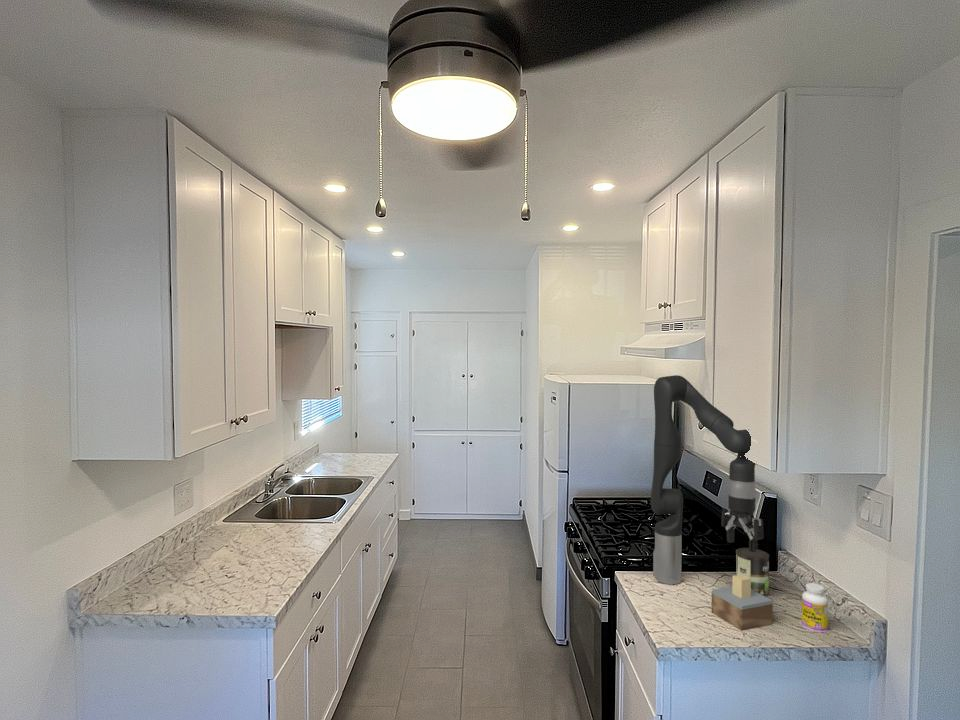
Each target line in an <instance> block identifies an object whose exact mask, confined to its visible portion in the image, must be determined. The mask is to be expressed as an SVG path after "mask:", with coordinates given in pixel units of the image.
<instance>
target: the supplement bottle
mask: <svg viewBox="0 0 960 720" xmlns="http://www.w3.org/2000/svg"><path fill="white" fill-rule="evenodd" d="M805 589H806V590H805V591H804V592H803V593H802V594H801V625H802V626H803V627H804V628H805V629H808V630H810V631H812V632H820V633H824V632H827V631H828V625H829V624H828V623H829V622H828V621H829V617H828V616H829V599H828V598H827V596H826V595H825V594H824V593H825V587H824V586H823V585H821V584H818V583H811V582H808V583H806V584H805Z"/></svg>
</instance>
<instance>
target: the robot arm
mask: <svg viewBox="0 0 960 720" xmlns="http://www.w3.org/2000/svg"><path fill="white" fill-rule="evenodd" d="M675 402H683V403H685V404H686V405H688V406H690V407H691V408H692V409H693V411H694V414H695V416H696V418H697V420H698V422H700V424H701V425H702V426H703V427H705V428H706V429H707V430H708V431H710V432H711V433H712V434H713V435H715V437H716V438H717V439H718V441H720V443H721V445H722V446H723V447H724V449H726V450H728V451H729V452H731V453H733V454H737V456H736V458H734V459H733V460H732V461H730V463H729V472H728V473H729V474H728V475H729V481H728V495H727V497H728V500H727V501H728V507H723V508H721V520H720V521H721V522H720V523H721V524H720V525H721V527H723V528H725V530H726V540H727V543H730V544H732V543H733V544H734V543H735V529H736V528H740V529H742V530H743V531H744V532H745V533H746V534H747V536H748V538H749V540H748V548H749V551H750V552H756V550H757V549H758V540H763V539H764V538H765V537H764V536H765V535H764V520H763V518H757V517H755V516H754V514H755V512H756V483H755V482H756V481H755V479H756V478H755V477H756V473H755V472H756V470H755V468H756V464H757V463H756V464H755V463H753V462H752V461H750V460H748V458H747V459H746V457H745V456H744V455H745V453H747V452H748V451H749V450H750V446H751V436H750V434H749V432H748V431H747V430H746V429H736V428H735V427H734V426H735V424H734V421H733V420H732V419H731V418H730V417H729V416H728V415H726V414H725V413H723V412H722V411H721V410H719V408H717V407H716V406H714V405H713V404H712V403H710V402H709V401H708V399H706V398H705V397H704V396H703V395H702V394H701V393H700V392H699V390H697V389H696V387H694V386H693V385H692V383H691V382H690V381H689V380H687V379H686V377H684V376H682V375H679V374H678V375H676V374H674V375H668V376H661V377H658V378H657V379H656V381H655V382H654V387H653V403H654V438H653V440H654V441H653V475H652V483H651V491H650V492H651V493H650V494H651V495H650V509H651V511H652V512H653V514H656V515H669V516H668V517H667V518H665V519H662V520H660V521H658V522H656V523H655V525H654V550H653V554H652V556H653V557H652V558H653V559H652V560H653V561H652V562H653V563H652V569H653V570H652V572H653V573H652V575H653V577H654V579H655V580H656V581H657V582H660V583H662V584H666V585H677V584H680V583H682V553H683V552H682V551H683V550H682V548H683V547H682V534H683V533H682V530H683V513H684V512H683V511H684V510H683V509H684V497H683V493H682V491H681V490H680V489H679V488H666V487H665V488H663V487H664V484H665V481H666V479H667V477H668V475H669V473H670V472H671V471H672V470H673V469H674V467H675V466H676V464H677V463H678V462H679V460H680V459H681V455H682V436H681V433H680V431H679V429H678V428H677V426H676V423H675V421H674V419H673V413H672V412H673V411H672V410H673V403H675ZM740 456H741V457H740Z"/></svg>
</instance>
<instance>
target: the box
mask: <svg viewBox="0 0 960 720" xmlns="http://www.w3.org/2000/svg"><path fill="white" fill-rule="evenodd" d="M773 607H774V605H773V604H769V605H764V606H759V607H754V608H748V609H743V610H741V609H739V608H738V607H736V606H734V605H732V604H730V603H729V602H727V601H725V600H723V599H722V598H720V597H718V596H716V595H714V594H713V593H712V592H711V614H713V615H715V616H717V617H718V618H719V619H721V620H723V621H724V622H726V623H727V624H730V626H733V627H734V628H737V630H740V631H741V632H743V631H748V630H753V629H757V628H762V627H766V626H772V625H773V624H774V621H773V620H774V619H773V616H774V615H773V613H774V612H773V610H774V608H773Z"/></svg>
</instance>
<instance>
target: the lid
mask: <svg viewBox="0 0 960 720" xmlns="http://www.w3.org/2000/svg"><path fill="white" fill-rule="evenodd" d="M731 583H732V586H726V587H725V586H724V587H719V588H715V589H714V588H713V589H711V594H712V593H713V594H714V595H716V596H718V597H720V598H722V599H723V600H725V601H727V602H729V603H730V604H732V605H734V606H736V607H738V608H739V609H741V610H743V609H748V608H754V607H759V606H764V605H769V604H773V602H774V601H773V600H772V599H771V598H768V596H767V597H765V596H763V595H761V594H759V593H757V592H755V591H753V590H751V579H750V578H748V577H746V576H744V575H742V574H740V575H735V574H734V575H732V582H731Z"/></svg>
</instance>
